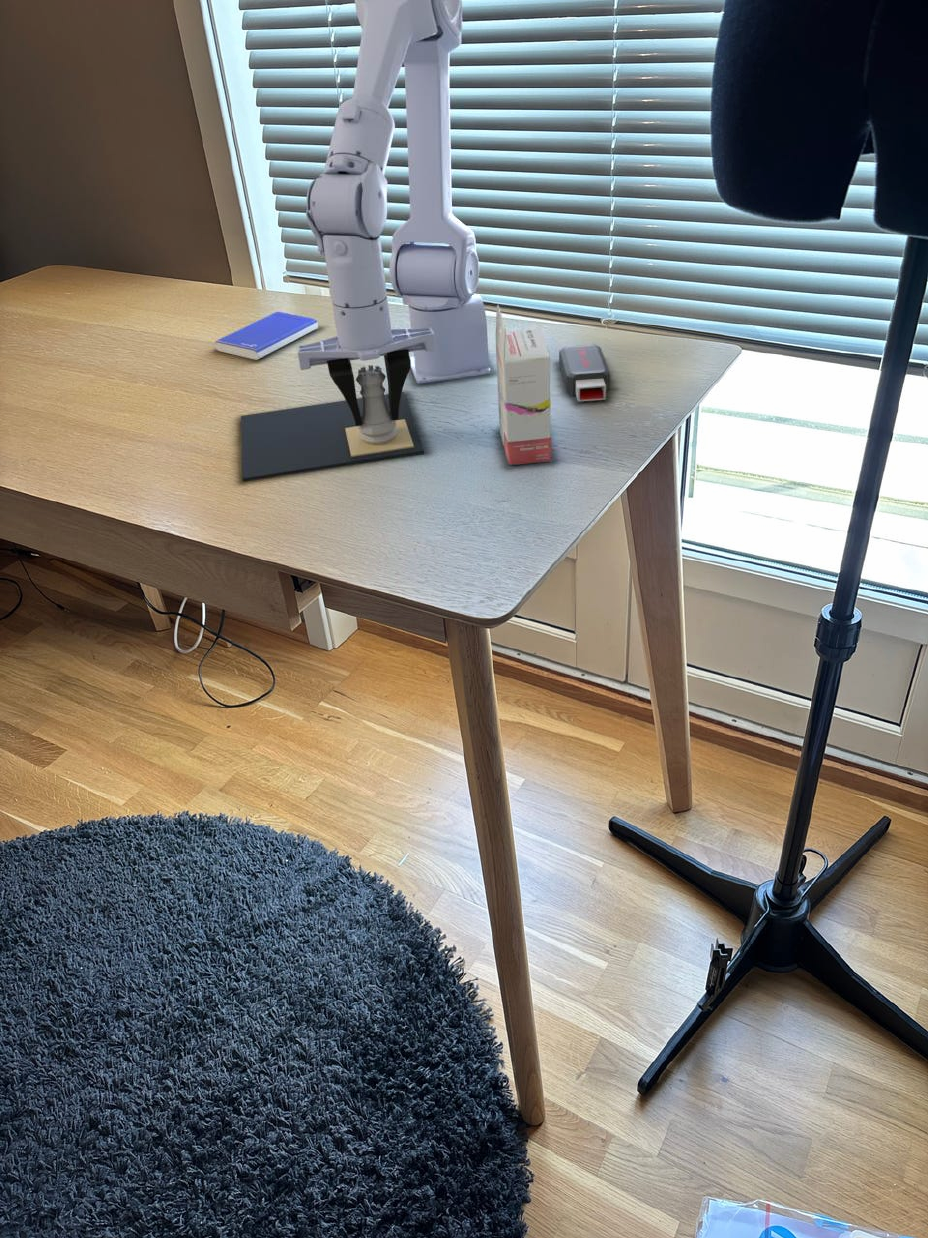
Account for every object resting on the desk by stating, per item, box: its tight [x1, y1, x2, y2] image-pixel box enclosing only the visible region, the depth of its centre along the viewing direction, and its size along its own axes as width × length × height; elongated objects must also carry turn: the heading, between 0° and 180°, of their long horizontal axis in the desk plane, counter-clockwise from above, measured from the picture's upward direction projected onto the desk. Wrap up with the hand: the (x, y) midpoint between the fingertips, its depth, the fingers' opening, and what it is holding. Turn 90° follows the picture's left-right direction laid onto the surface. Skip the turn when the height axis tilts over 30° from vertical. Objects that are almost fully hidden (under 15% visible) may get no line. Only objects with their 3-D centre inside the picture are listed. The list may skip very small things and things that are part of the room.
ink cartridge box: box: [495, 304, 552, 466], centre depth 101 cm, size 9×5×15 cm, turn 5°
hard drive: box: [214, 311, 319, 361], centre depth 136 cm, size 2×8×12 cm
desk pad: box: [240, 391, 425, 482], centre depth 111 cm, size 20×16×1 cm
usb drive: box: [558, 344, 611, 402], centre depth 117 cm, size 5×12×3 cm, turn 1°
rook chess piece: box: [355, 364, 398, 445], centre depth 106 cm, size 4×4×8 cm
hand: (376, 419), depth 107 cm, fingers closed on rook chess piece, 3 cm apart
